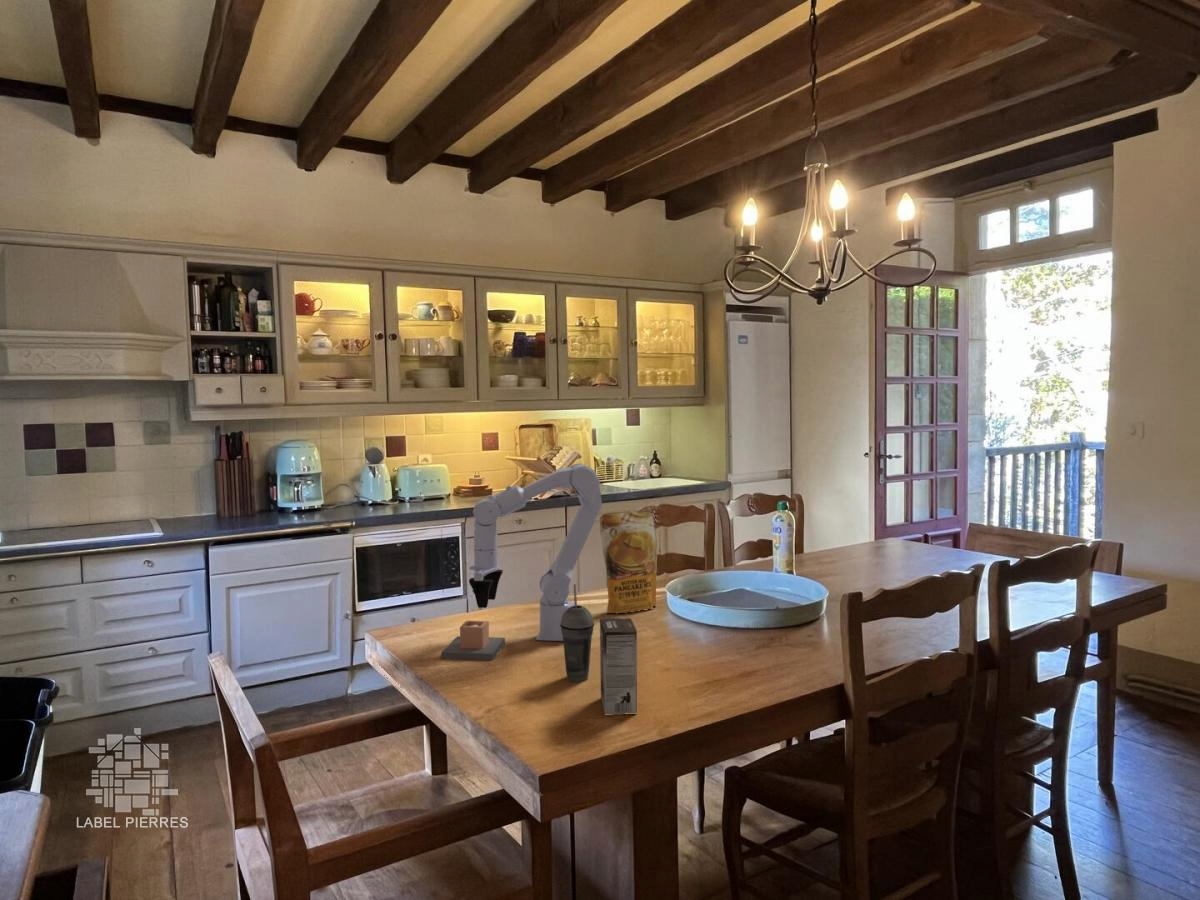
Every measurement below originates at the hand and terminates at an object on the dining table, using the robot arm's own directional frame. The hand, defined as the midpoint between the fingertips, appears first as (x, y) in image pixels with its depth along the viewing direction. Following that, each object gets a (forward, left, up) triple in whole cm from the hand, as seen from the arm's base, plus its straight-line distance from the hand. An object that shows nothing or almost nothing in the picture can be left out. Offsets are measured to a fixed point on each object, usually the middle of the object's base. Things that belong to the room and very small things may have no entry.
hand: (486, 603), depth 187 cm
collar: (+1, +8, -8) cm, 11 cm away
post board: (+1, +8, -9) cm, 12 cm away
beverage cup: (-26, +23, -10) cm, 36 cm away
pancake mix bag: (-33, -32, -10) cm, 47 cm away
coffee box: (-36, +37, -10) cm, 53 cm away
